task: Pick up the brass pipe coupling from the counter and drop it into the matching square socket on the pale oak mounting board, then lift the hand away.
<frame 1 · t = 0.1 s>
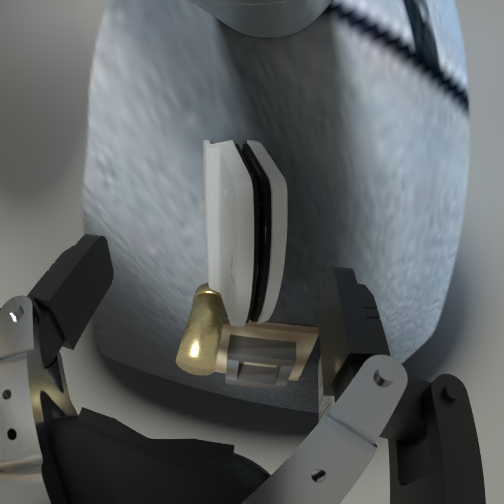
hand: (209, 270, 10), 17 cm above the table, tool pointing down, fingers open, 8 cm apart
supplement box: (344, 349, 41), on the table
socket board: (260, 349, 42), on the table
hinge: (243, 219, 29), on the table
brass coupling: (212, 296, 36), on the table
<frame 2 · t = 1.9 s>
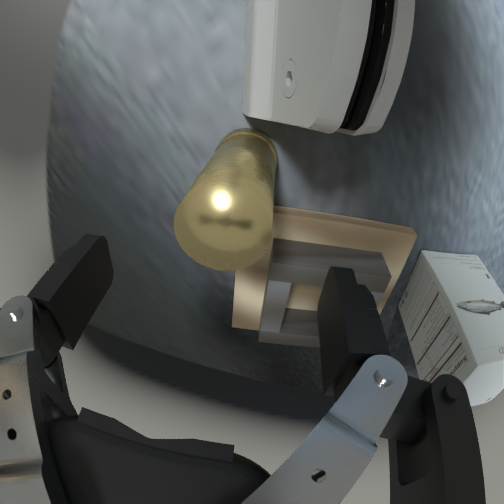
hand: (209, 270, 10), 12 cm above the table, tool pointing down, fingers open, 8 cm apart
supplement box: (436, 279, 25), on the table
socket board: (316, 278, 26), on the table
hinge: (308, 8, 14), on the table
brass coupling: (247, 157, 20), on the table
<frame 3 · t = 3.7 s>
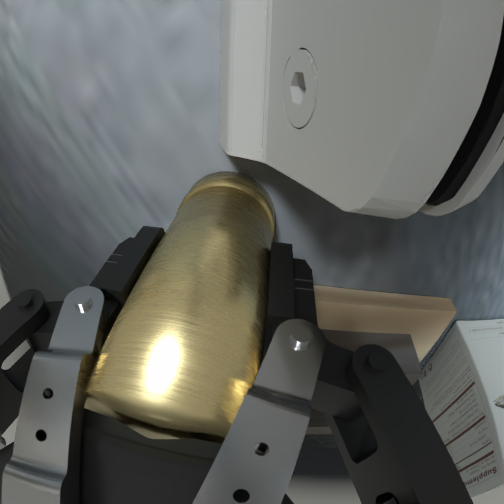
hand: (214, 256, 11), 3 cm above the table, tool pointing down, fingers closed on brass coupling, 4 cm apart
supplement box: (465, 345, 18), on the table
socket board: (323, 357, 19), on the table
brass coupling: (228, 214, 13), on the table, touching gripper
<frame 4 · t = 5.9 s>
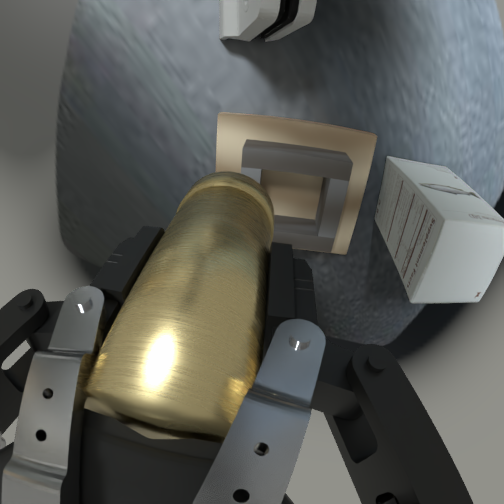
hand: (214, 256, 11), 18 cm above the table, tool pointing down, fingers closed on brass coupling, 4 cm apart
supplement box: (409, 191, 27), on the table
socket board: (290, 184, 28), on the table
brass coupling: (228, 214, 13), point 15 cm above the table, touching gripper
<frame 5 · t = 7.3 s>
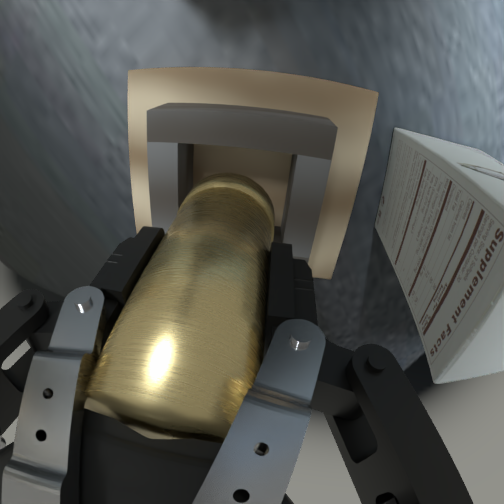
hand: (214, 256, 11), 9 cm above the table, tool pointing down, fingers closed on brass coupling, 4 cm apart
supplement box: (426, 184, 17), on the table
socket board: (242, 172, 18), on the table
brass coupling: (228, 215, 13), point 5 cm above the table, touching gripper
when the fingers open (6 cm above the table, at t = 8.2 s): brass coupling drops 1 cm, resting on socket board.
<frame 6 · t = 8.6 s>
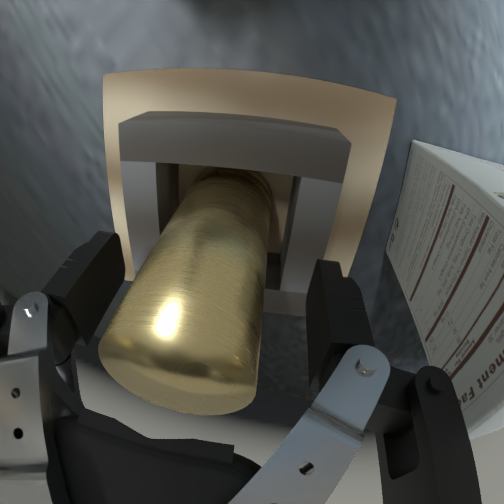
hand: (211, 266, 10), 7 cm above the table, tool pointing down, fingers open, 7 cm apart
supplement box: (444, 203, 15), on the table
socket board: (235, 191, 16), on the table
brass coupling: (231, 200, 15), point 1 cm above the table, touching socket board
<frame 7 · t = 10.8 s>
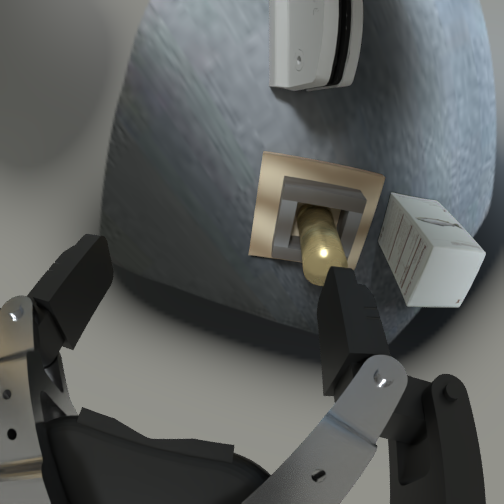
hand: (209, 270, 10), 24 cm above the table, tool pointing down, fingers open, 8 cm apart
supplement box: (406, 219, 34), on the table
socket board: (313, 212, 35), on the table
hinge: (306, 20, 23), on the table
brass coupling: (314, 217, 34), point 1 cm above the table, touching socket board
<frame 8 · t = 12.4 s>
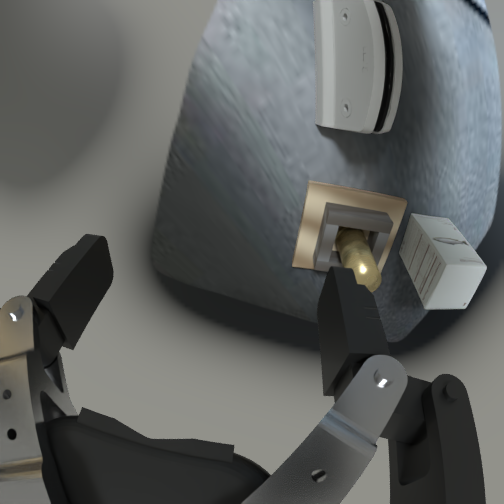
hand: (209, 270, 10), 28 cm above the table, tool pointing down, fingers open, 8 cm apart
supplement box: (422, 234, 40), on the table
socket board: (347, 230, 40), on the table
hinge: (347, 63, 28), on the table
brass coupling: (349, 235, 39), point 1 cm above the table, touching socket board
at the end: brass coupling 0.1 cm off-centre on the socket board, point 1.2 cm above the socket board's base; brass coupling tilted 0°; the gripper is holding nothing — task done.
